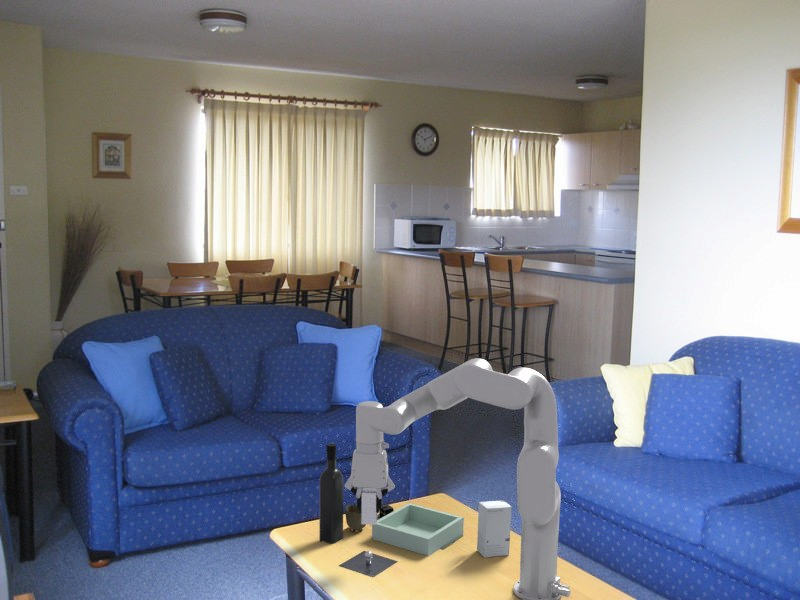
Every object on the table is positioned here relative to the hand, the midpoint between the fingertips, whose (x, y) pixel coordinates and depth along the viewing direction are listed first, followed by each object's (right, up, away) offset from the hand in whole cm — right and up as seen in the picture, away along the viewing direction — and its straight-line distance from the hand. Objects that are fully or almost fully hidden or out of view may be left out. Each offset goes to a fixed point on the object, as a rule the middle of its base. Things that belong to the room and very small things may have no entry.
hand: (369, 510), depth 228 cm
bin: (+14, -14, +21) cm, 29 cm away
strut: (0, -3, 0) cm, 3 cm away
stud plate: (0, -16, +2) cm, 17 cm away
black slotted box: (+4, -13, +36) cm, 38 cm away
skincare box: (+36, -16, +13) cm, 41 cm away
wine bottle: (-12, -14, +18) cm, 26 cm away
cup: (-5, -14, +26) cm, 29 cm away
